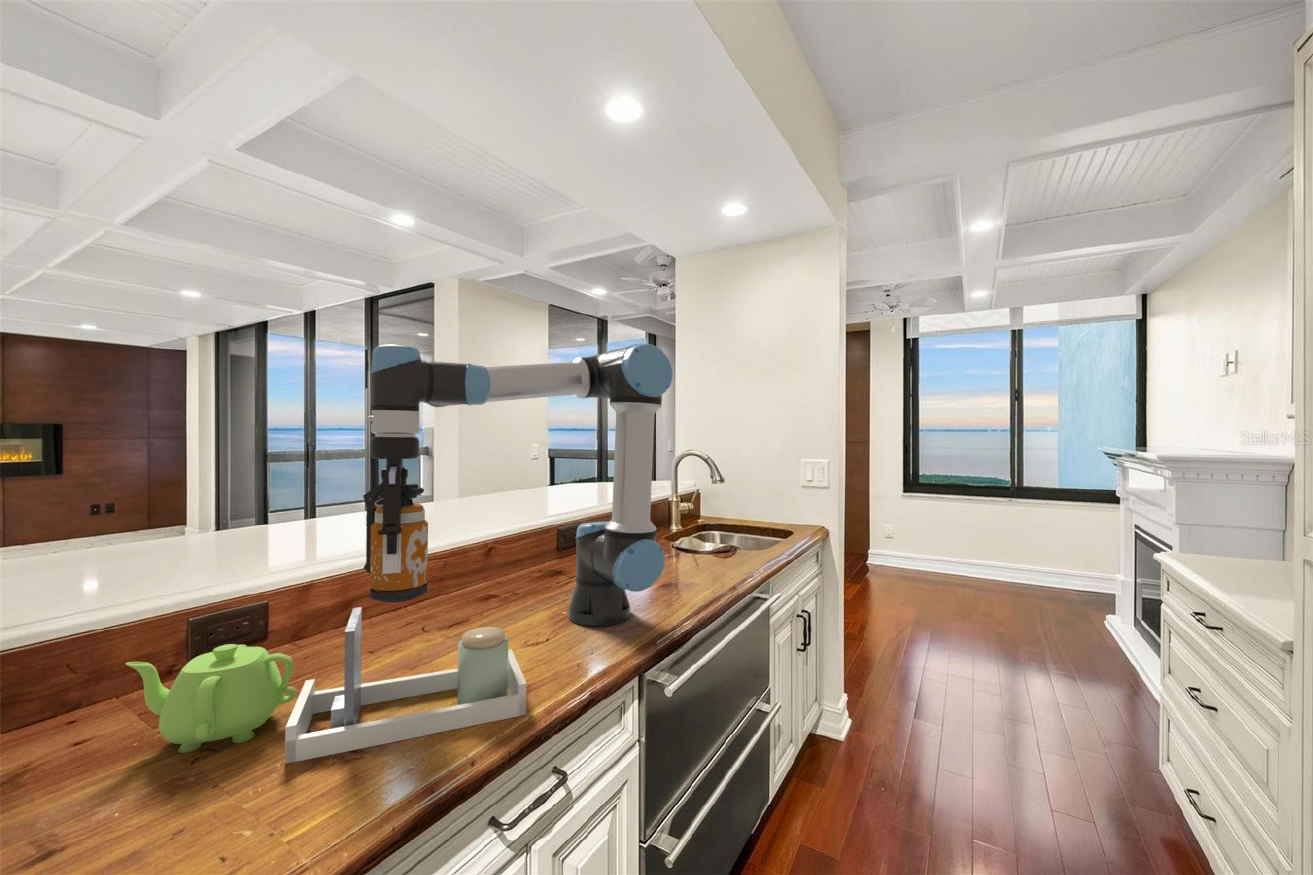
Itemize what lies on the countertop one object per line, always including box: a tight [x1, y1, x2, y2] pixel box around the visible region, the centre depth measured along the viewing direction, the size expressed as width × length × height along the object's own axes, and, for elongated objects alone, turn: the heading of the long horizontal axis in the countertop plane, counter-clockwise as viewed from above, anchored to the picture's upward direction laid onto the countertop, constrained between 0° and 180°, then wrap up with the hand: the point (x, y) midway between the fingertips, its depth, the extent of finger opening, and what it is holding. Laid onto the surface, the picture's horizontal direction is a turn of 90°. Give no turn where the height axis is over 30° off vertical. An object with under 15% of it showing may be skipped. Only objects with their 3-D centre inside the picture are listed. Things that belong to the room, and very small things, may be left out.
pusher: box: [330, 606, 363, 729], centre depth 80 cm, size 3×11×16 cm, turn 25°
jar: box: [456, 626, 509, 705], centre depth 88 cm, size 8×8×11 cm
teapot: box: [125, 643, 297, 754], centre depth 78 cm, size 16×14×13 cm
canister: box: [362, 482, 429, 604], centre depth 92 cm, size 9×11×20 cm
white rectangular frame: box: [284, 648, 527, 765], centre depth 84 cm, size 32×14×5 cm, turn 114°
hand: (393, 566), depth 92 cm, fingers closed on canister, 8 cm apart
